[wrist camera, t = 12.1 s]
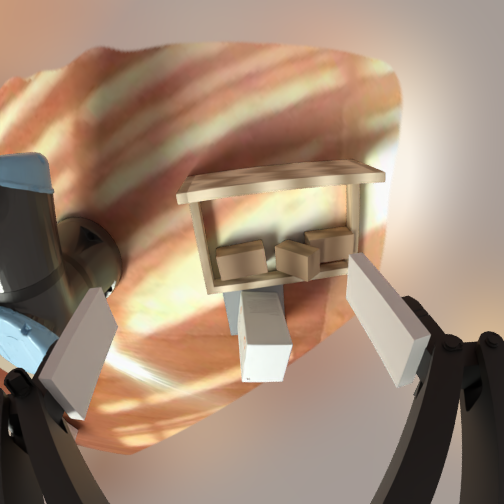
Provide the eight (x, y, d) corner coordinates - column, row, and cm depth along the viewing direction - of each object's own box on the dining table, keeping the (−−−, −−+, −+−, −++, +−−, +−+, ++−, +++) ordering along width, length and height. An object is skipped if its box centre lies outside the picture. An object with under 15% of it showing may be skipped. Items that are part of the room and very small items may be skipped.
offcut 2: (288, 261, 47) (276, 269, 45) (287, 239, 45) (274, 246, 44) (319, 272, 43) (307, 281, 41) (319, 248, 41) (307, 257, 40)
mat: (231, 333, 53) (231, 335, 52) (222, 289, 48) (222, 290, 48) (284, 326, 53) (285, 327, 53) (282, 280, 49) (282, 282, 48)
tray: (208, 286, 48) (205, 325, 39) (187, 176, 40) (176, 194, 31) (351, 265, 48) (375, 298, 40) (352, 159, 40) (385, 172, 31)
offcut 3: (304, 254, 47) (310, 264, 44) (303, 231, 45) (309, 240, 42) (344, 248, 47) (352, 257, 44) (345, 225, 45) (353, 234, 42)
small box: (271, 328, 52) (283, 382, 41) (236, 327, 52) (240, 383, 40) (278, 291, 49) (293, 344, 37) (240, 289, 48) (246, 344, 36)
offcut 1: (221, 269, 47) (221, 281, 44) (216, 247, 45) (215, 257, 42) (265, 261, 47) (267, 272, 44) (261, 239, 45) (264, 248, 42)
